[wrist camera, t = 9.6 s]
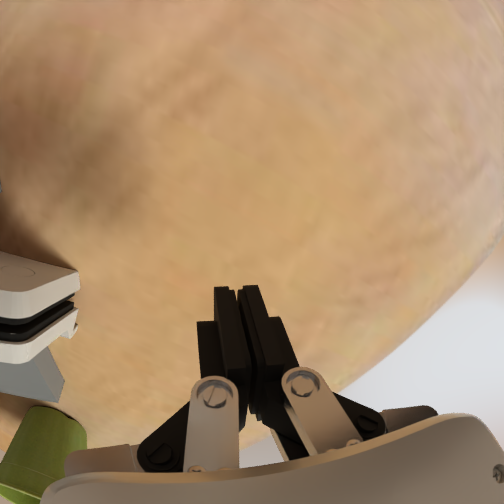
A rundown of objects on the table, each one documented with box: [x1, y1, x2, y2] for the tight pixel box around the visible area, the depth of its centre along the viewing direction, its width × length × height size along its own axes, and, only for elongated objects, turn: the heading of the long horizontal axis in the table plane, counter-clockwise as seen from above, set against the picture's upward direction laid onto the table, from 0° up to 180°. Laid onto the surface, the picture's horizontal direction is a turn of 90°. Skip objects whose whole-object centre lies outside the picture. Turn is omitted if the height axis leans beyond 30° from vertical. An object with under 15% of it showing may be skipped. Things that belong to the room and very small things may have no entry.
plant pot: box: [0, 406, 87, 504], centre depth 18 cm, size 12×12×11 cm
